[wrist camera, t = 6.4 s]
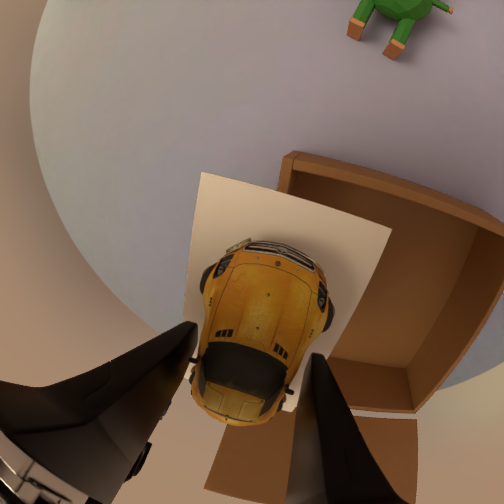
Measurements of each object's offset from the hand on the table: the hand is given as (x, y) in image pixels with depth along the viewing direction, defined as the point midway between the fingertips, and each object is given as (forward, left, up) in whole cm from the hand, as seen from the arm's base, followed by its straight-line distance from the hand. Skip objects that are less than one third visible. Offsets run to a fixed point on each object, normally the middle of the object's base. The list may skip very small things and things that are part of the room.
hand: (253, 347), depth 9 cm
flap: (-11, -7, -1) cm, 13 cm away
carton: (-2, -7, -11) cm, 13 cm away
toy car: (0, 0, -1) cm, 1 cm away
